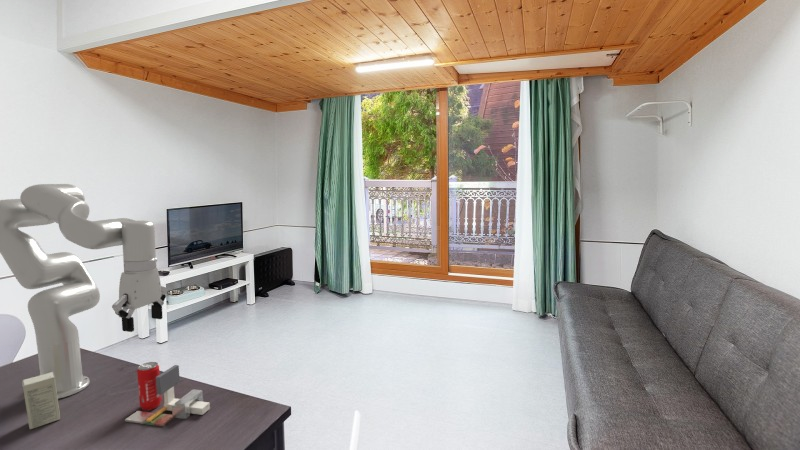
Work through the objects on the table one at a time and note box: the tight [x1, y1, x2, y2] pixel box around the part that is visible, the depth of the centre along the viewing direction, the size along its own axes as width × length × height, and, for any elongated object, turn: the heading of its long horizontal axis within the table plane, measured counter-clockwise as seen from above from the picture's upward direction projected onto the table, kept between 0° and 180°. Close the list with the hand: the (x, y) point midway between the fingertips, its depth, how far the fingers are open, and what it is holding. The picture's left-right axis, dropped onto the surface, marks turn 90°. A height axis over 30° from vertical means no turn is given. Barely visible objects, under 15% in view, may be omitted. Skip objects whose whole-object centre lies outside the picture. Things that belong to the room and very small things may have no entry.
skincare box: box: [22, 372, 61, 430], centre depth 104 cm, size 6×4×12 cm
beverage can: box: [136, 361, 162, 411], centre depth 111 cm, size 5×5×12 cm
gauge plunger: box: [146, 364, 211, 422], centre depth 107 cm, size 12×11×11 cm
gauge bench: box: [124, 389, 204, 427], centre depth 108 cm, size 15×11×4 cm
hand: (143, 324), depth 111 cm, fingers open, 9 cm apart
